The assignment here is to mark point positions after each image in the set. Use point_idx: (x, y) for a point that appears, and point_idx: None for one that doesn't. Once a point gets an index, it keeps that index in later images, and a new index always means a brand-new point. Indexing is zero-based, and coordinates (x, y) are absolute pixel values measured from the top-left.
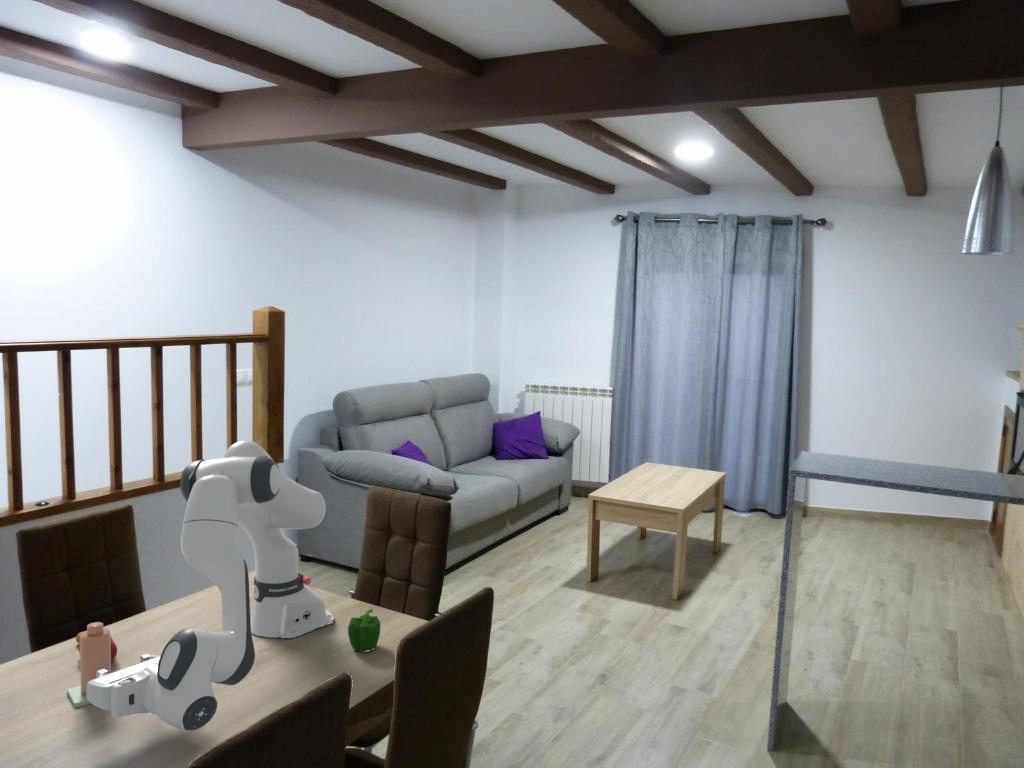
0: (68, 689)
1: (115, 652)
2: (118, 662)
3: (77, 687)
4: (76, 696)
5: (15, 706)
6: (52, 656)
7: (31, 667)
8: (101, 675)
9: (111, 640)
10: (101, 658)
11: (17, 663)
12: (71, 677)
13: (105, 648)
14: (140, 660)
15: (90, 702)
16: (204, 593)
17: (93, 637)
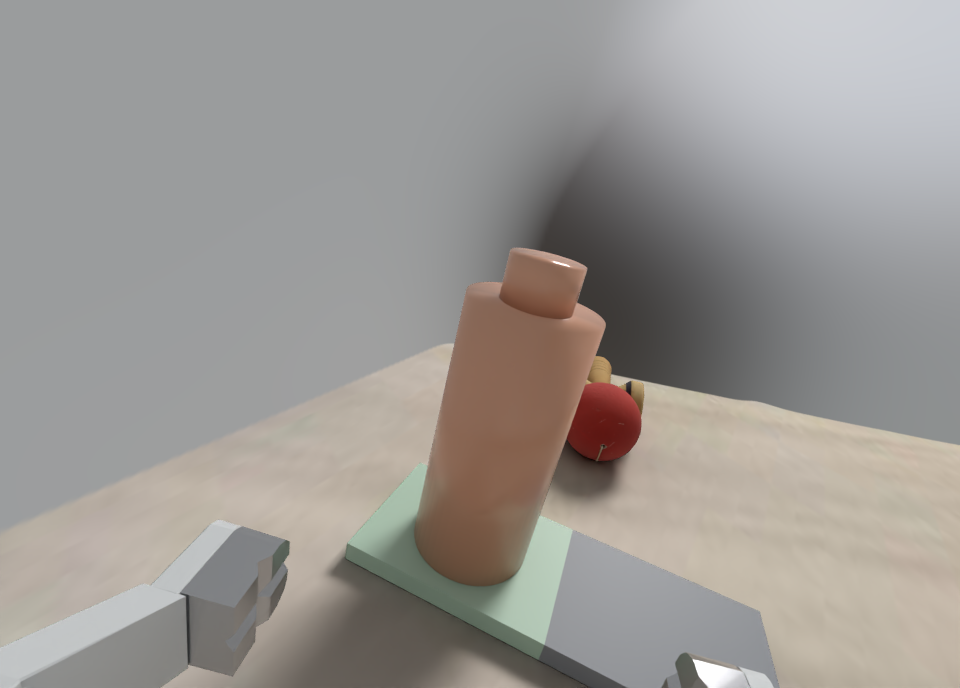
0: (421, 466)
1: (628, 443)
2: (625, 475)
3: None
4: (396, 513)
5: (296, 418)
6: None
7: None
8: (41, 652)
9: (638, 404)
10: (499, 434)
11: None
12: None
13: (535, 397)
14: (665, 681)
15: (400, 583)
16: (898, 435)
17: (505, 307)
